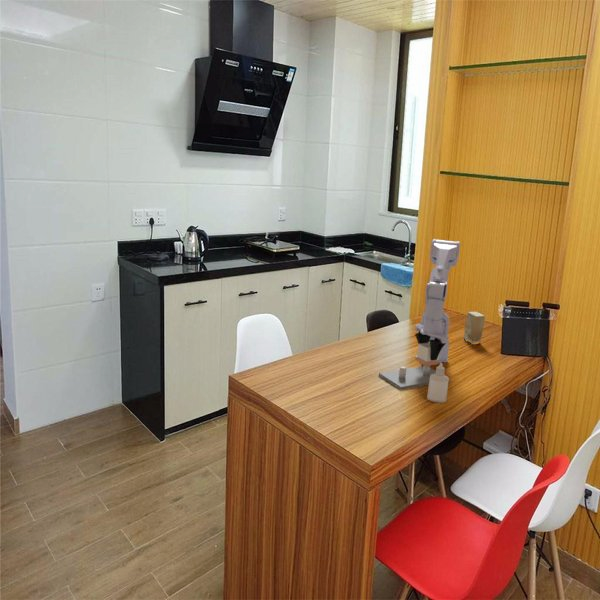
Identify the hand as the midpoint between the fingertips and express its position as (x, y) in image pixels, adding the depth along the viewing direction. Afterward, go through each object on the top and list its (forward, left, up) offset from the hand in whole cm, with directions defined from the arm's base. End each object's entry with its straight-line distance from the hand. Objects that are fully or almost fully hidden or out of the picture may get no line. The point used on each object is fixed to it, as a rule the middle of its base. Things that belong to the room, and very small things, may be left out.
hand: (428, 356), depth 180 cm
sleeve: (0, 0, -2) cm, 2 cm away
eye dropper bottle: (+9, +16, -7) cm, 20 cm away
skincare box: (-43, -23, -7) cm, 49 cm away
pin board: (+5, 0, -7) cm, 9 cm away
